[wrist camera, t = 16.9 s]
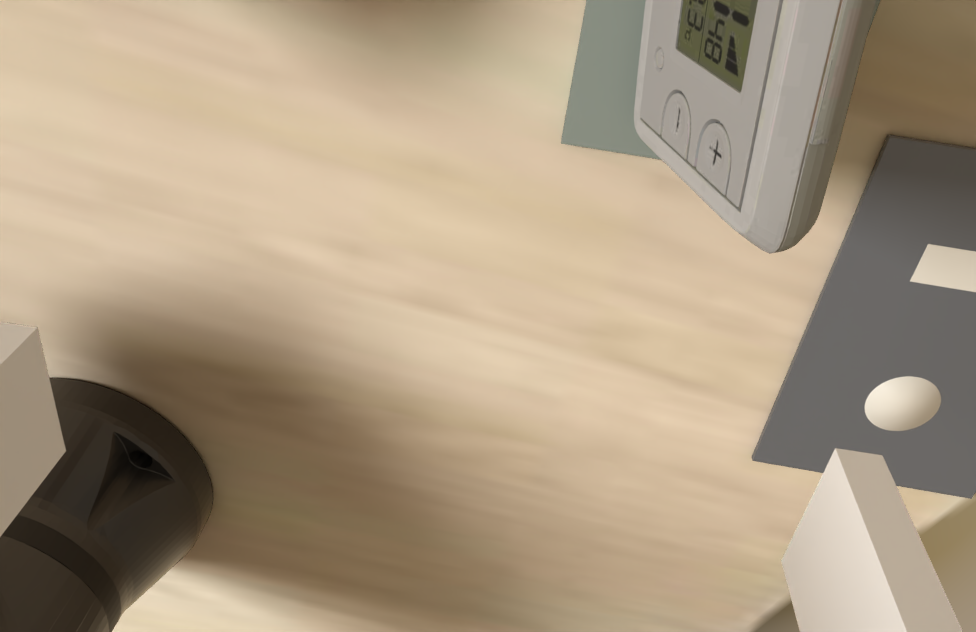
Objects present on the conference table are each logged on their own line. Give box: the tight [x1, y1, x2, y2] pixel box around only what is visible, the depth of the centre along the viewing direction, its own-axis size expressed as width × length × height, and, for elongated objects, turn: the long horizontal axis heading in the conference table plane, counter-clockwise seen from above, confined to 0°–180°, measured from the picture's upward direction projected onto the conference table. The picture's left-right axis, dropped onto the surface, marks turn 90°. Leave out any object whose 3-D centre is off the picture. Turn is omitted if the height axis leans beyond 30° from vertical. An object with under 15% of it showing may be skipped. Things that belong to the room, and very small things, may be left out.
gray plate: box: [752, 135, 976, 499], centre depth 39 cm, size 19×12×1 cm, turn 173°
